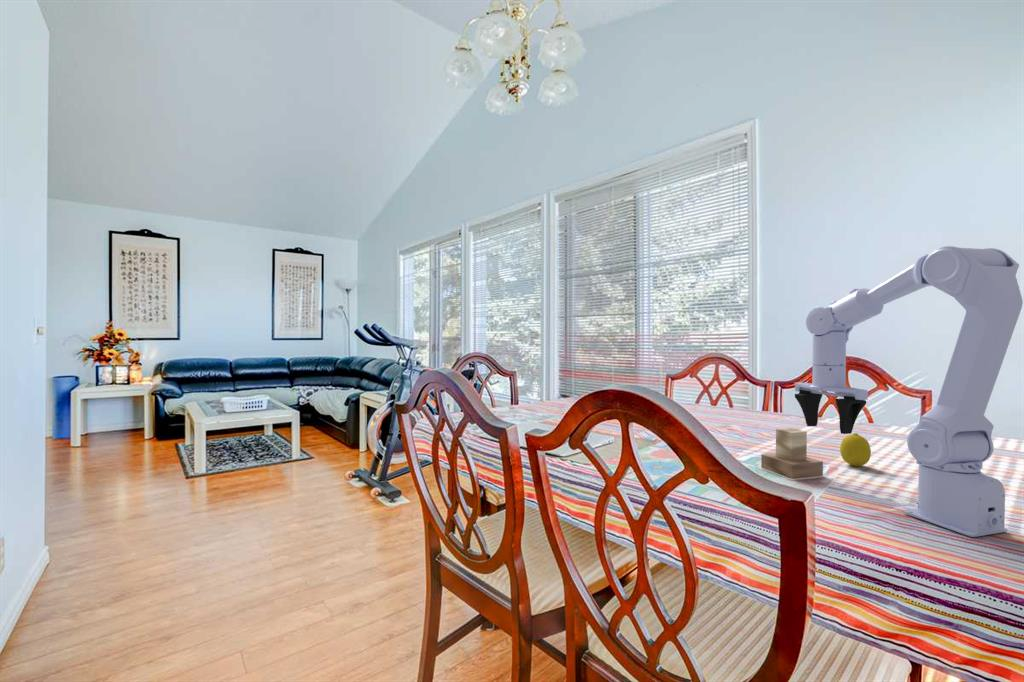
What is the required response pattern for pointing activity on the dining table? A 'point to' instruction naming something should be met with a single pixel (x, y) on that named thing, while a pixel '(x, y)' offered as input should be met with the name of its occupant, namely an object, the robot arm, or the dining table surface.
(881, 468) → the dining table surface
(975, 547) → the dining table surface
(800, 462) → the walnut slab
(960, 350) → the robot arm
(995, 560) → the dining table surface
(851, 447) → the lemon
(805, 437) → the maple pillar
